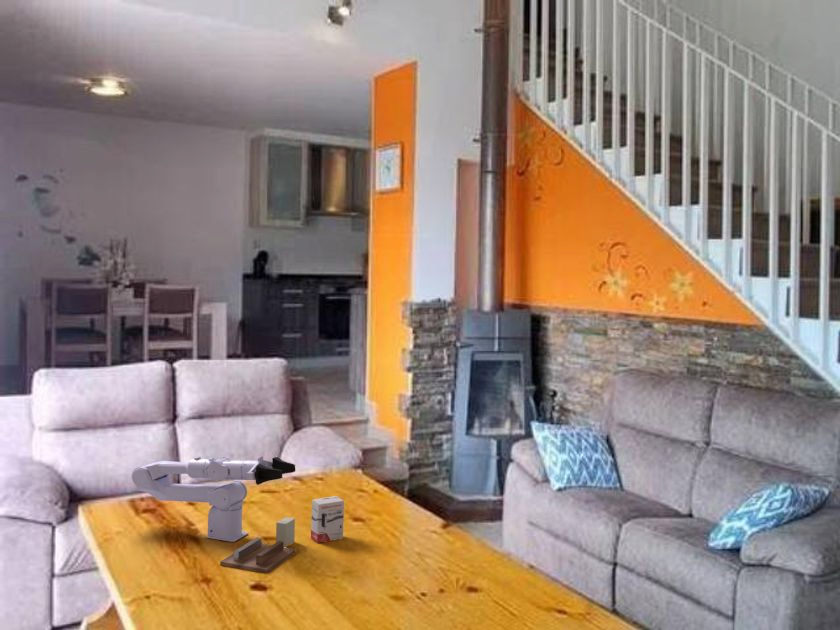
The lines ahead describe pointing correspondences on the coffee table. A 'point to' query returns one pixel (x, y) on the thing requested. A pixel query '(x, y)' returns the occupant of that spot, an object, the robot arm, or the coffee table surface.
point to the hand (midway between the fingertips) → (288, 471)
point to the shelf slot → (261, 558)
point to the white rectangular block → (285, 531)
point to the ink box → (327, 519)
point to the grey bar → (247, 549)
